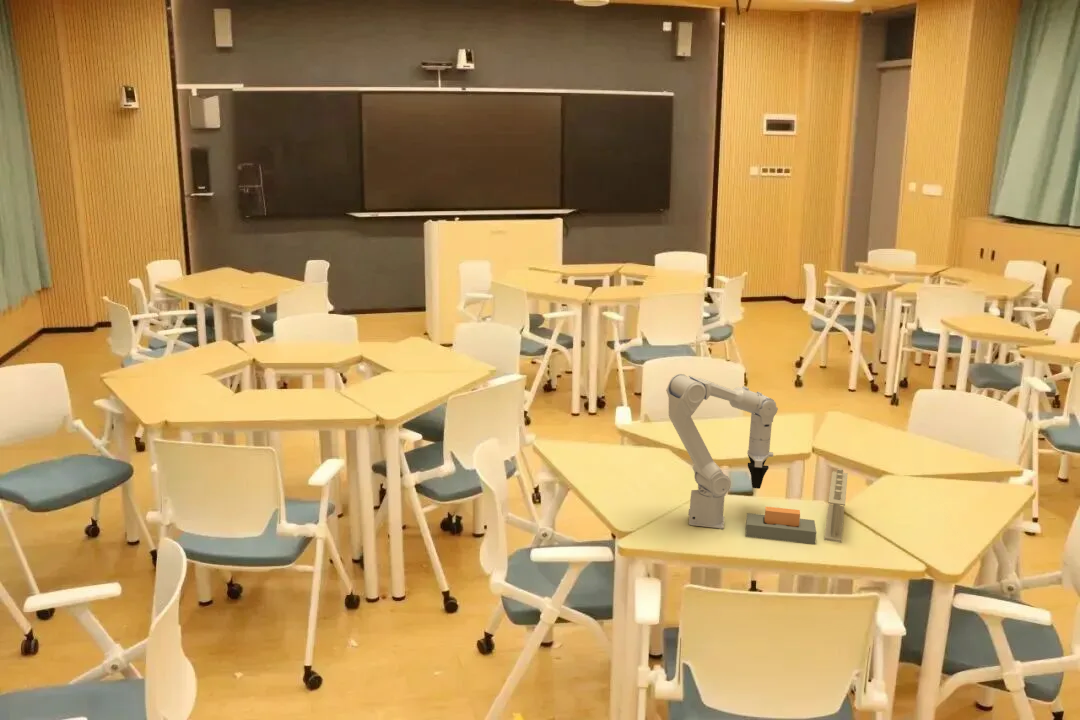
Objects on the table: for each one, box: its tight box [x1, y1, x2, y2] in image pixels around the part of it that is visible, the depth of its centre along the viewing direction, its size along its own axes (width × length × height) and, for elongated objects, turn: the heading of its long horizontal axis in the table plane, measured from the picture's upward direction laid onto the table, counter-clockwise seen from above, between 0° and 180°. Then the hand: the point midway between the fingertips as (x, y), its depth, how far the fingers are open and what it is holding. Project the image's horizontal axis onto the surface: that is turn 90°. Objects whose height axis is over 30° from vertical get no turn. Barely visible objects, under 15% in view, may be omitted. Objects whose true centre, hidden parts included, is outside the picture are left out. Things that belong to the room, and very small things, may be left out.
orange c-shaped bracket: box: [764, 506, 801, 527], centre depth 247 cm, size 9×3×6 cm, turn 77°
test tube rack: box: [823, 467, 848, 543], centre depth 254 cm, size 25×4×13 cm, turn 160°
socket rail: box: [745, 512, 817, 545], centre depth 247 cm, size 18×8×4 cm, turn 77°
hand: (756, 483), depth 257 cm, fingers open, 7 cm apart
